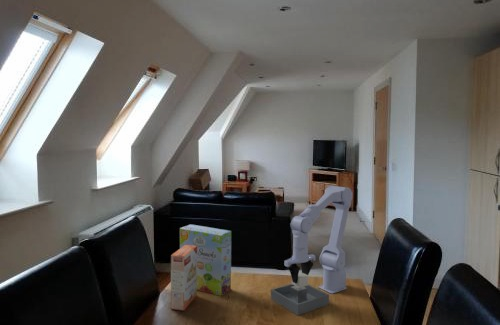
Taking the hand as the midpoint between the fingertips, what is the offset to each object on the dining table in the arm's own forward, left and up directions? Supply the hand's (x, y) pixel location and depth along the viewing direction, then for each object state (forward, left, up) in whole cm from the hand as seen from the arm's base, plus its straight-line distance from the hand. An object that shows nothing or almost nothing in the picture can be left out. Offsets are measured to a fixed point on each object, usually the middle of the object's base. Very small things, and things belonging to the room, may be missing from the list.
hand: (299, 281), depth 146 cm
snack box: (+25, -32, -9) cm, 42 cm away
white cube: (0, 0, -1) cm, 1 cm away
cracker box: (+38, -24, -9) cm, 46 cm away
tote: (0, 0, -8) cm, 8 cm away
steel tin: (0, -1, -8) cm, 8 cm away
